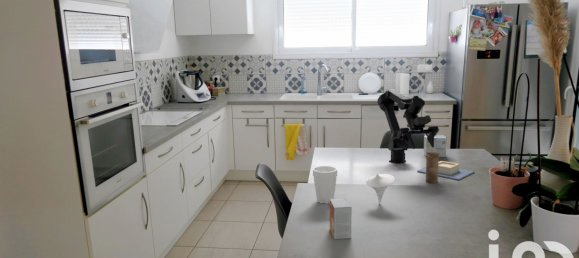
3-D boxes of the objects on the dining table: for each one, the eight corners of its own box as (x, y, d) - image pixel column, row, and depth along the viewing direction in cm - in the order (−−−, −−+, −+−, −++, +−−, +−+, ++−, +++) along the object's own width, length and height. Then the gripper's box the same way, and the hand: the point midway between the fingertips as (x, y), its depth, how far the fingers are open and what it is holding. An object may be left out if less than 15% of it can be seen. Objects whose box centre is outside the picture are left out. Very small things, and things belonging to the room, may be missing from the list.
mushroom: (379, 210, 154) (380, 179, 152) (360, 202, 163) (360, 172, 161) (400, 204, 159) (401, 174, 157) (380, 196, 168) (380, 167, 166)
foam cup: (339, 198, 168) (339, 166, 165) (334, 206, 159) (334, 173, 157) (316, 196, 171) (316, 165, 169) (310, 204, 162) (309, 171, 160)
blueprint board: (417, 171, 201) (417, 163, 200) (433, 165, 212) (434, 157, 211) (458, 180, 187) (459, 171, 186) (474, 172, 198) (474, 164, 197)
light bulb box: (443, 154, 233) (443, 134, 231) (446, 157, 227) (447, 137, 225) (423, 154, 234) (423, 135, 232) (425, 157, 228) (426, 137, 226)
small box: (329, 229, 140) (329, 198, 138) (346, 228, 140) (346, 197, 138) (333, 239, 132) (333, 207, 130) (351, 238, 132) (351, 206, 130)
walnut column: (423, 181, 186) (424, 152, 184) (429, 179, 190) (430, 150, 187) (434, 183, 183) (435, 154, 180) (439, 181, 186) (440, 152, 184)
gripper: (400, 110, 192) (410, 139, 183) (438, 108, 195) (450, 136, 187) (392, 124, 201) (402, 152, 192) (428, 122, 204) (440, 150, 196)
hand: (423, 147), depth 191 cm, fingers open, 9 cm apart
